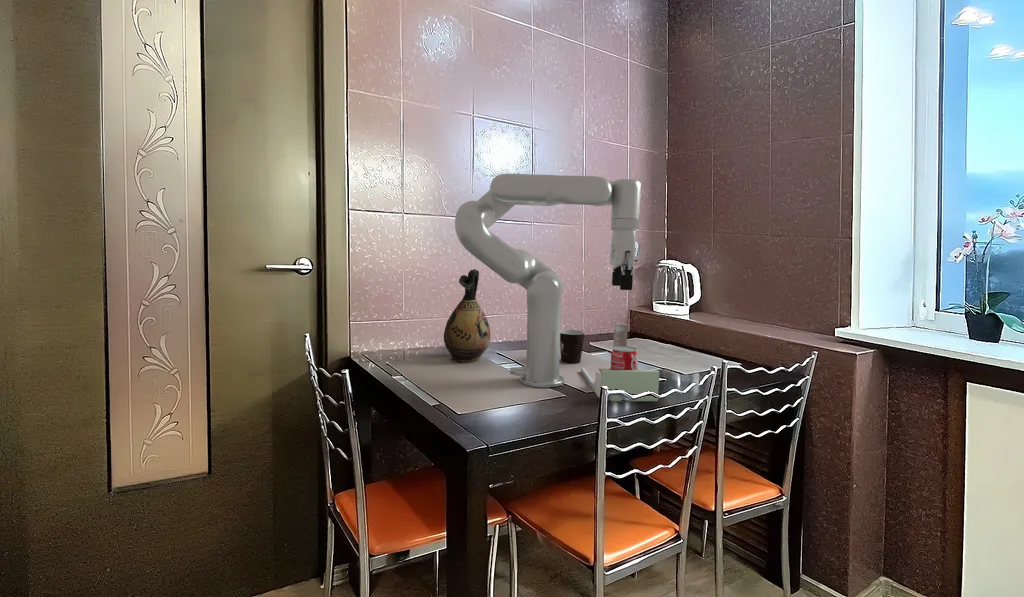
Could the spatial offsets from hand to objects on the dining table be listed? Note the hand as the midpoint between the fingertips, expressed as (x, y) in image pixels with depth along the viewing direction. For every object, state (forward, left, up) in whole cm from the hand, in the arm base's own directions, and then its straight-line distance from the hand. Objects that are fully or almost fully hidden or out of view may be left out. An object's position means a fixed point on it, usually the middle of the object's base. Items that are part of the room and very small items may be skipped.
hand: (621, 287), depth 157 cm
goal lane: (0, +1, -28) cm, 28 cm away
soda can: (0, -8, -29) cm, 30 cm away
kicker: (0, -2, -28) cm, 28 cm away
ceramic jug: (-43, +31, -29) cm, 60 cm away
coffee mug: (-9, +27, -29) cm, 41 cm away
